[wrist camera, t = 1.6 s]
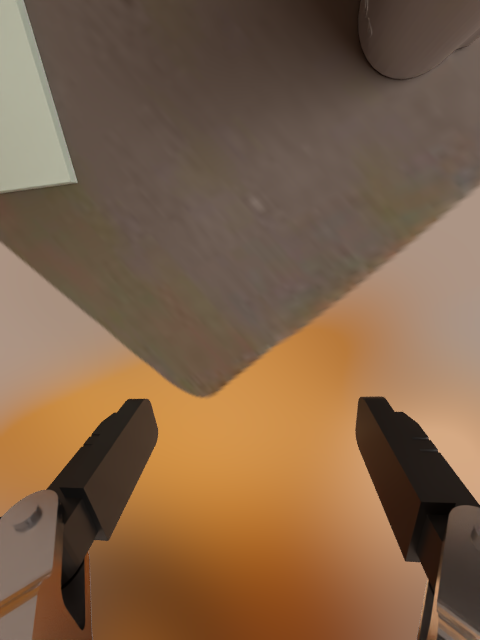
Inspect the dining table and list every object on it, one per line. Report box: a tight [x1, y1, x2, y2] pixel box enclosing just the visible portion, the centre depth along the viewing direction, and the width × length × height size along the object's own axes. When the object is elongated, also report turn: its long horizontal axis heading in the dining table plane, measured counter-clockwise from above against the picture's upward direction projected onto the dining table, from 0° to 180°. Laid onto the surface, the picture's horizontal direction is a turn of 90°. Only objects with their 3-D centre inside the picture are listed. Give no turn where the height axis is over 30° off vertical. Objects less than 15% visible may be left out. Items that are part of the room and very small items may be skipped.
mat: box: [0, 0, 78, 193], centre depth 25 cm, size 10×16×1 cm, turn 6°
